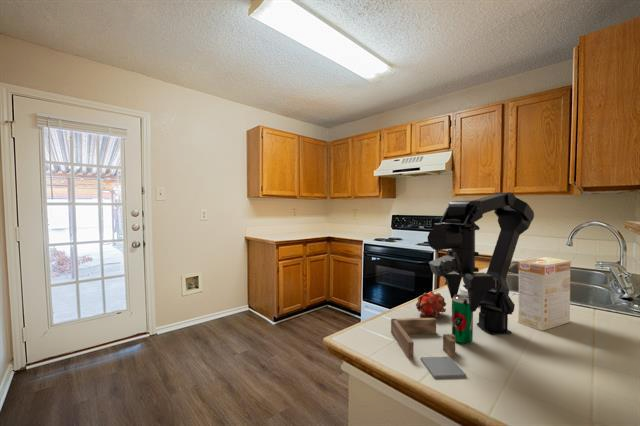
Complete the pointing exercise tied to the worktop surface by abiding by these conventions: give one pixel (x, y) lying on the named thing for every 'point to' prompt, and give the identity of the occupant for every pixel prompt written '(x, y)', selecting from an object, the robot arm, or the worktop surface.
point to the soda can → (462, 319)
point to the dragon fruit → (431, 304)
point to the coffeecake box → (544, 292)
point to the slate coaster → (442, 367)
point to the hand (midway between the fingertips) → (462, 304)
